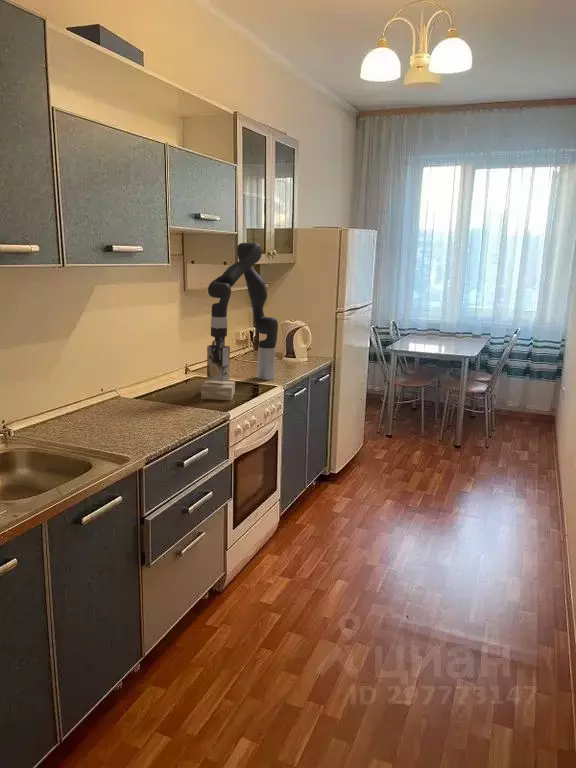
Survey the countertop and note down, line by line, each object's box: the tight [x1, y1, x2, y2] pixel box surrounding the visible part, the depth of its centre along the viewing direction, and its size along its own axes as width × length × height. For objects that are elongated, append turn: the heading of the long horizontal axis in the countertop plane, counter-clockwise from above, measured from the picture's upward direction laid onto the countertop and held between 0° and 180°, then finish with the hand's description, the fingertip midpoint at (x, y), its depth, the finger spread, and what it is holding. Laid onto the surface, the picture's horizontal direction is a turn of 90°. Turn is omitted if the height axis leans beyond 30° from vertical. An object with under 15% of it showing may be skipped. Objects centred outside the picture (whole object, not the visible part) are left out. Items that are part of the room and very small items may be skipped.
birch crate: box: [200, 379, 236, 401], centre depth 268 cm, size 14×14×6 cm
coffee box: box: [206, 344, 231, 382], centre depth 266 cm, size 9×6×16 cm
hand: (218, 360), depth 265 cm, fingers closed on coffee box, 7 cm apart
